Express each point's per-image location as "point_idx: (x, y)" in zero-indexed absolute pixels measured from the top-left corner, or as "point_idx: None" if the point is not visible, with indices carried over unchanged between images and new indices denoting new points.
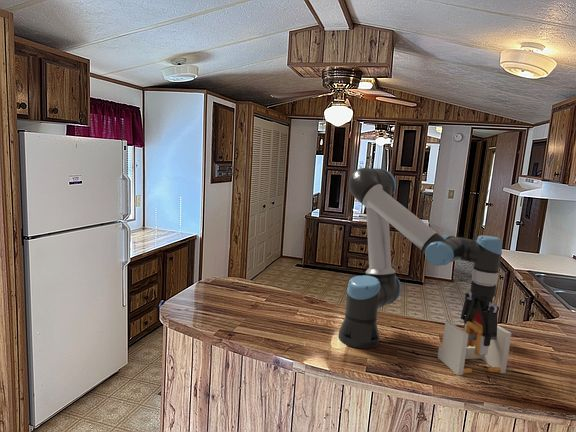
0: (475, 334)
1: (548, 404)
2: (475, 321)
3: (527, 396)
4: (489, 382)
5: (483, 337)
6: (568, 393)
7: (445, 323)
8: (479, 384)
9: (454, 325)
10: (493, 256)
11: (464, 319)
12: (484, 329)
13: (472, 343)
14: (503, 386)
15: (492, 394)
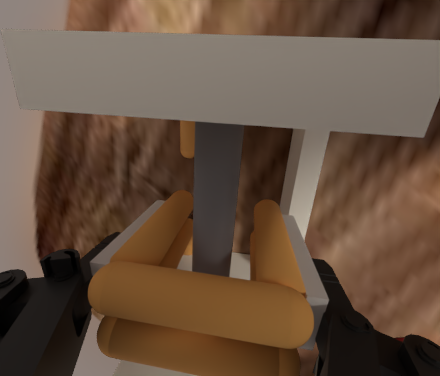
0: (205, 266)
1: (50, 238)
2: None
3: (76, 220)
4: (136, 173)
5: (99, 257)
6: (96, 313)
7: (421, 47)
8: (125, 130)
9: (274, 105)
10: None
11: (370, 344)
12: (38, 313)
13: (251, 241)
14: (117, 197)
15: (75, 130)
